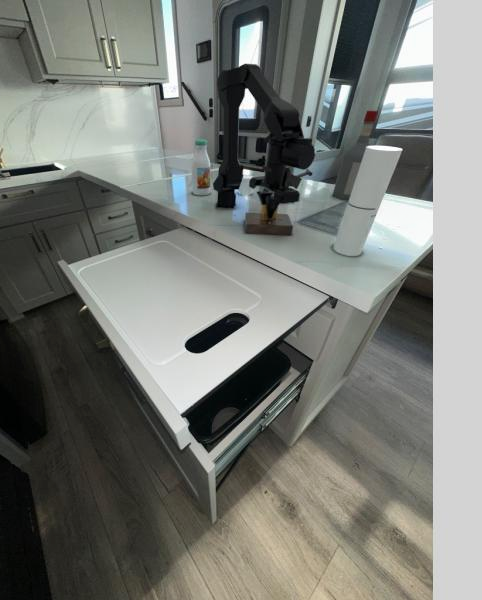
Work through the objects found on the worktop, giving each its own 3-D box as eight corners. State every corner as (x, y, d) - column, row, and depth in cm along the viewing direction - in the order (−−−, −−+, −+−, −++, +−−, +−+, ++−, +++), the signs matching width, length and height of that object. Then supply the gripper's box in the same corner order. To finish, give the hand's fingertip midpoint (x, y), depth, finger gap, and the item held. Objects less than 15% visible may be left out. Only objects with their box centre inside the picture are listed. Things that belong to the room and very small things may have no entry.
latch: (310, 173, 104) (309, 167, 103) (312, 176, 100) (312, 170, 99) (279, 184, 107) (277, 178, 106) (280, 188, 104) (279, 182, 102)
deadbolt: (262, 220, 83) (264, 205, 80) (260, 218, 84) (262, 203, 81) (276, 218, 84) (278, 203, 81) (273, 216, 85) (276, 202, 82)
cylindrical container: (329, 244, 77) (360, 145, 61) (352, 243, 77) (389, 145, 62) (340, 256, 71) (378, 150, 56) (366, 255, 72) (410, 150, 56)
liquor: (361, 199, 110) (393, 111, 91) (344, 202, 107) (373, 111, 89) (344, 193, 117) (371, 110, 98) (328, 196, 114) (352, 110, 95)
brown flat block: (245, 233, 82) (246, 223, 81) (244, 221, 90) (245, 212, 88) (291, 235, 82) (293, 225, 80) (286, 222, 90) (288, 213, 88)
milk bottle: (190, 195, 113) (189, 141, 101) (194, 190, 119) (193, 138, 107) (208, 196, 112) (209, 141, 100) (211, 191, 118) (212, 139, 106)
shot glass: (252, 192, 118) (254, 175, 113) (253, 196, 112) (255, 179, 108) (237, 191, 118) (238, 174, 114) (237, 196, 113) (238, 178, 108)
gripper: (322, 167, 70) (308, 224, 79) (282, 155, 83) (273, 205, 93) (286, 170, 67) (276, 229, 76) (250, 157, 80) (245, 208, 90)
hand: (268, 217), depth 84 cm, fingers closed on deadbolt
